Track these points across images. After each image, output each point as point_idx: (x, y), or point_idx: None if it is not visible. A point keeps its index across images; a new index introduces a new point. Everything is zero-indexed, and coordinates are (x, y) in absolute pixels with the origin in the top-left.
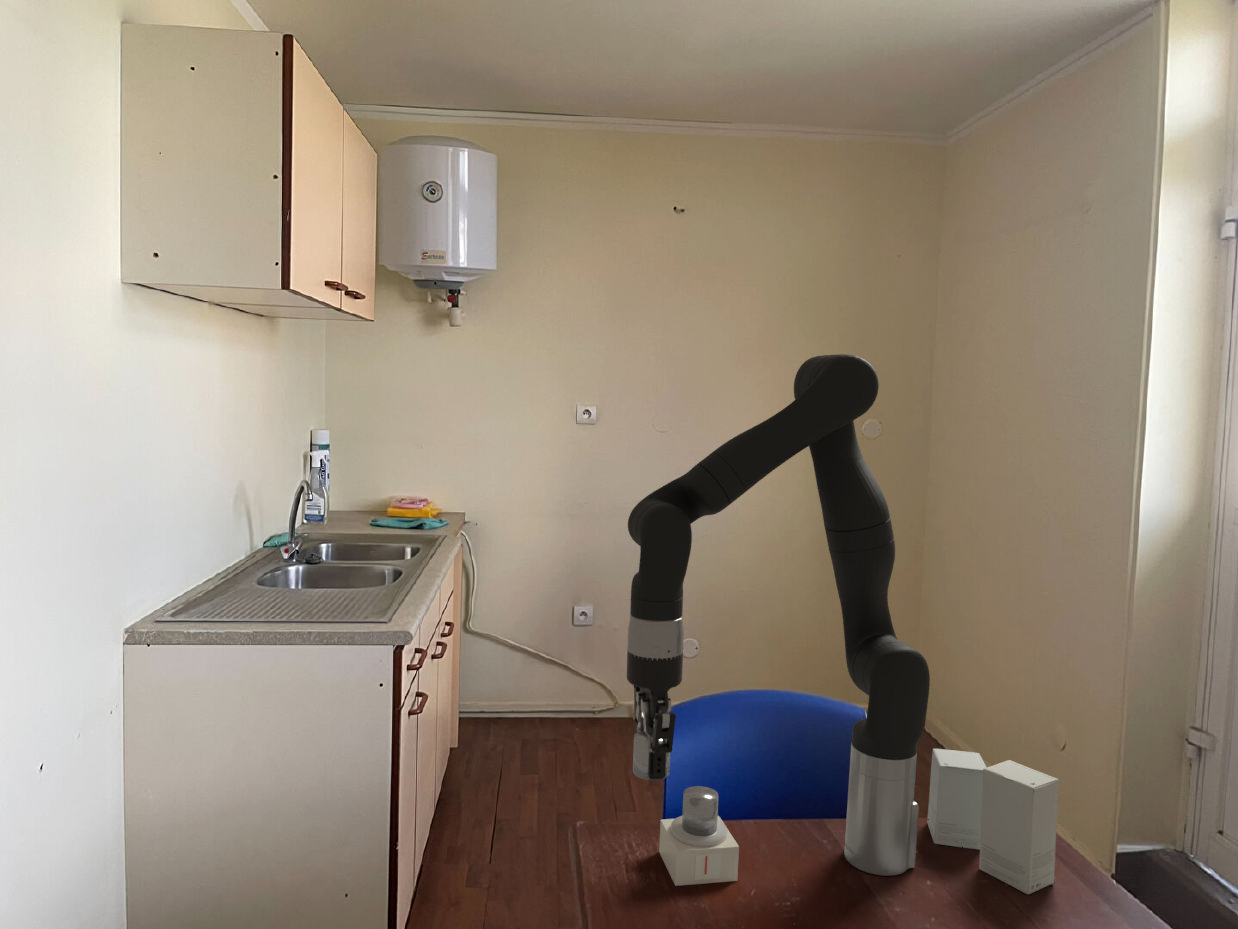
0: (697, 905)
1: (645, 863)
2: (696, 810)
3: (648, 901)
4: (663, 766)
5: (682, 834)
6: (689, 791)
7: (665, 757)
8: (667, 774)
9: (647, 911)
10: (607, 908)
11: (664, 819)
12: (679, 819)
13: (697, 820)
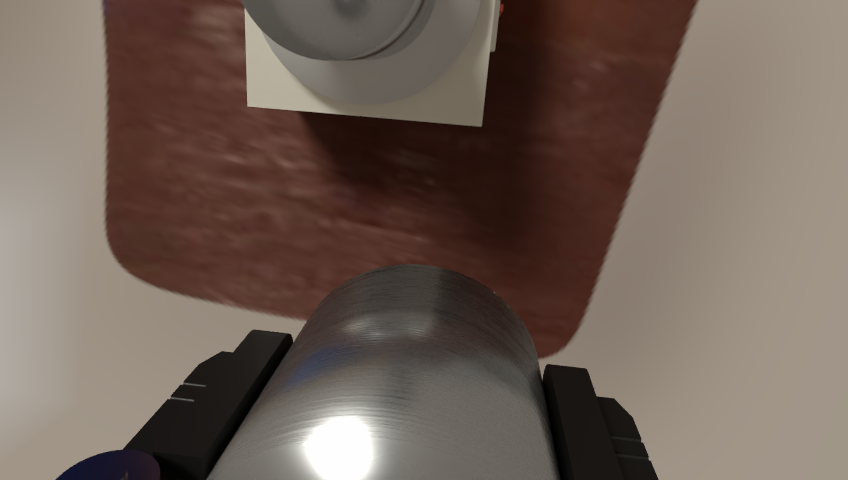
0: (593, 83)
1: (344, 159)
2: (411, 19)
3: (533, 214)
4: (647, 460)
5: (405, 77)
6: (286, 14)
7: (620, 475)
8: (512, 314)
9: (576, 232)
10: (533, 322)
11: (248, 91)
12: None
13: (420, 16)
